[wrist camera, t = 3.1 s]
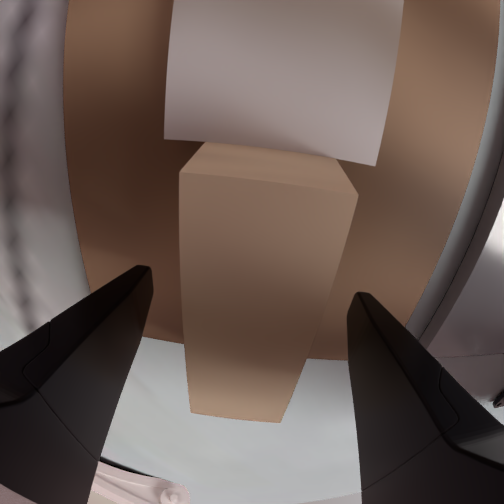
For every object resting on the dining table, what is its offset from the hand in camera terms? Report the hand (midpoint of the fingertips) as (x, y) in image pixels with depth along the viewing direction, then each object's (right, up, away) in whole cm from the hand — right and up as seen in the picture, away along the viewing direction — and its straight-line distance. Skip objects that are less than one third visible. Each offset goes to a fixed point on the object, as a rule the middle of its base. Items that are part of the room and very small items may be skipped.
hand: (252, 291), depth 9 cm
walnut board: (+1, +9, -3) cm, 10 cm away
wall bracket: (-21, -23, +20) cm, 37 cm away
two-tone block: (0, +4, -1) cm, 4 cm away
